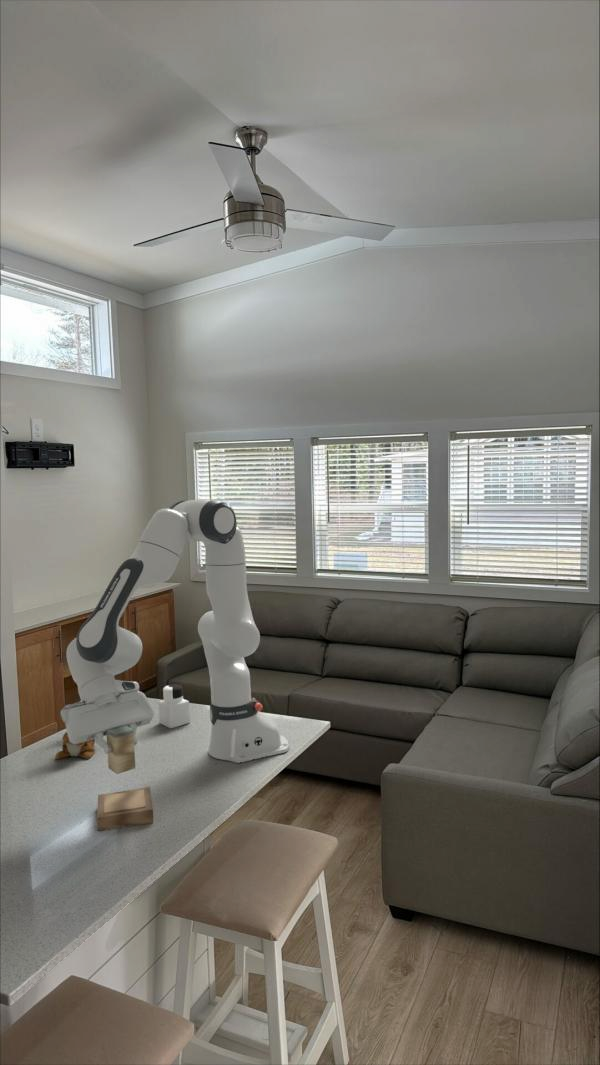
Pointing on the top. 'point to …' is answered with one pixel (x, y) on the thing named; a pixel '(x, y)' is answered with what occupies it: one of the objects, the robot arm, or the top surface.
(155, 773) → the top surface
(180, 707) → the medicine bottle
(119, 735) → the tan tall block
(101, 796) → the base slab
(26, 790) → the top surface
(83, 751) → the stuffed squirrel
